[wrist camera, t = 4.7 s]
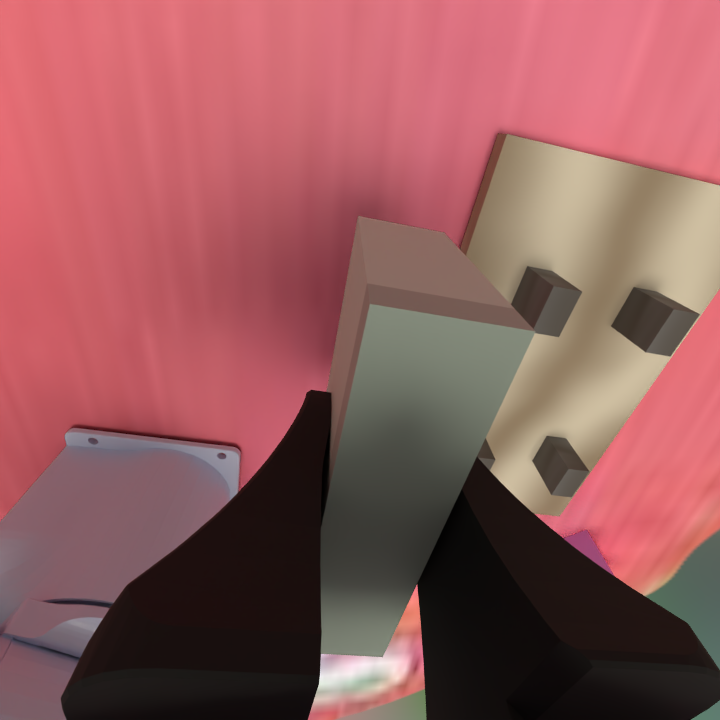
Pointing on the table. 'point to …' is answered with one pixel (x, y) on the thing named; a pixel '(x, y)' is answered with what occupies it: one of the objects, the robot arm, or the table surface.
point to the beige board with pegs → (585, 300)
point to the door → (404, 419)
